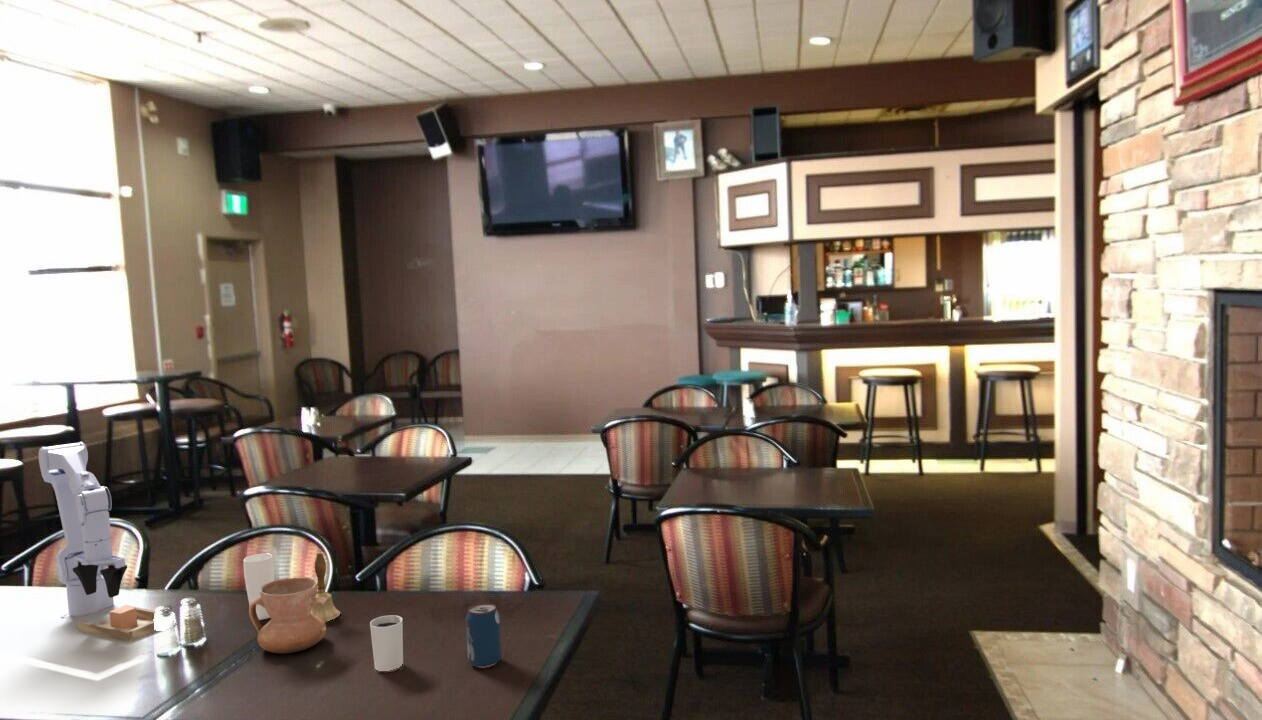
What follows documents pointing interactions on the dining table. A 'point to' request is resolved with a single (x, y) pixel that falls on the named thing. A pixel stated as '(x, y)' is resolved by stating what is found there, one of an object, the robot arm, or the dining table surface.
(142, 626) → the shallow wooden tray
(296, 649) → the ceramic jug
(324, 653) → the dining table surface
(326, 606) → the hand bell
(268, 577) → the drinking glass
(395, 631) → the white cup
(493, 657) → the soda can
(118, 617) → the terracotta block
